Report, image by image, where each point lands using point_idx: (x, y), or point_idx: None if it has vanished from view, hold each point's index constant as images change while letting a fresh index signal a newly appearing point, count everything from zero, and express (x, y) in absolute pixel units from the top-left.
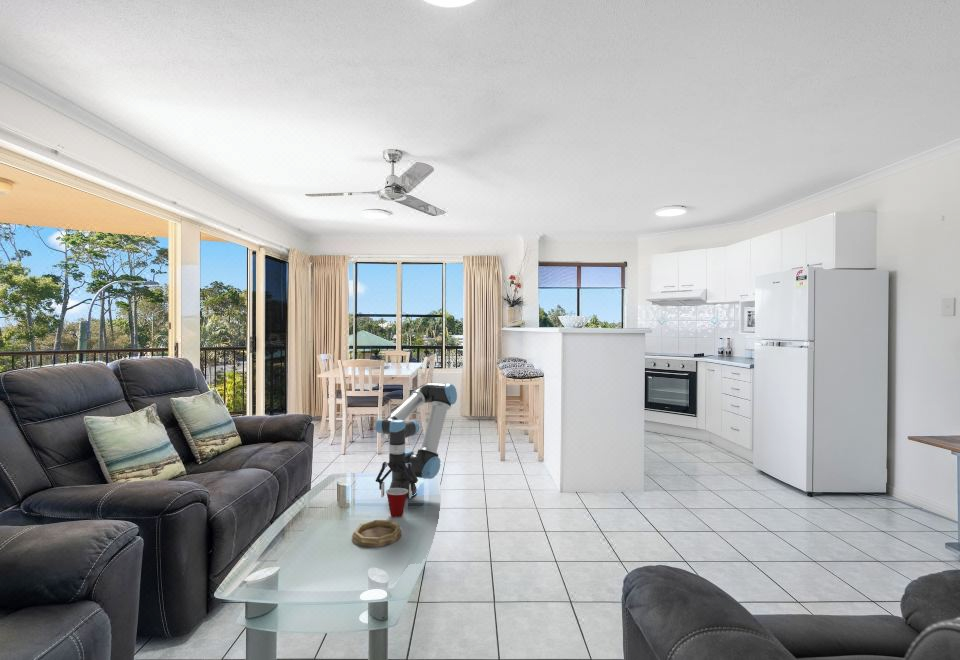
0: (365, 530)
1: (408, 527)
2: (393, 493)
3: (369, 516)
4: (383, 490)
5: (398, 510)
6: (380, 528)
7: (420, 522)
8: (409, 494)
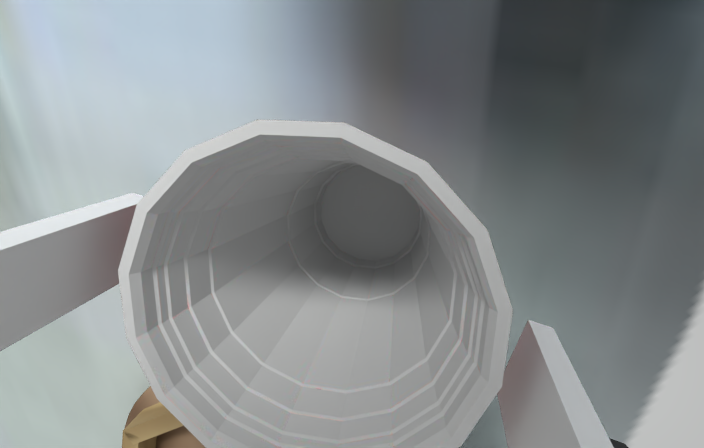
0: (179, 434)
1: None
2: (266, 164)
3: None
4: (79, 273)
5: (372, 303)
6: None
7: None
8: (510, 433)
